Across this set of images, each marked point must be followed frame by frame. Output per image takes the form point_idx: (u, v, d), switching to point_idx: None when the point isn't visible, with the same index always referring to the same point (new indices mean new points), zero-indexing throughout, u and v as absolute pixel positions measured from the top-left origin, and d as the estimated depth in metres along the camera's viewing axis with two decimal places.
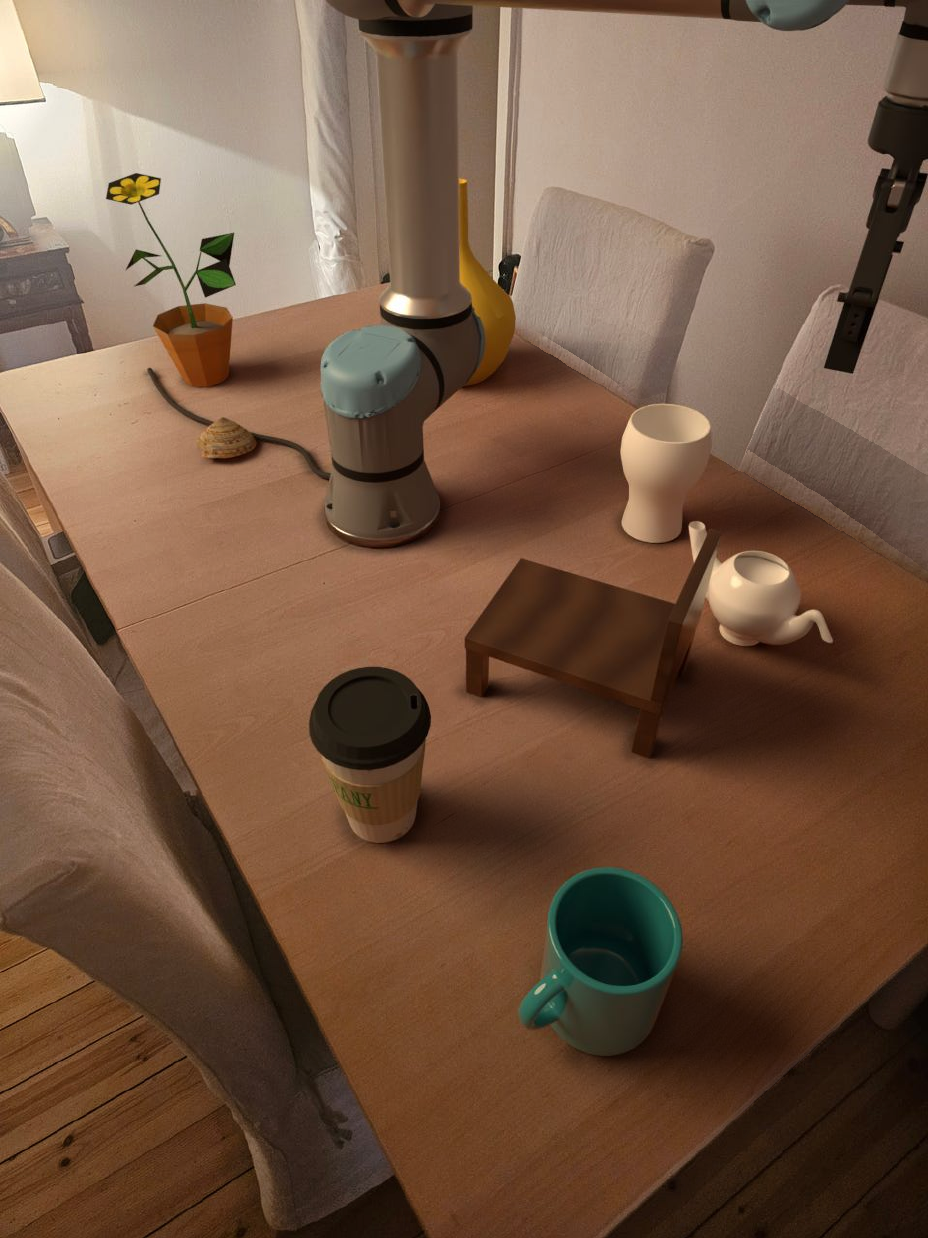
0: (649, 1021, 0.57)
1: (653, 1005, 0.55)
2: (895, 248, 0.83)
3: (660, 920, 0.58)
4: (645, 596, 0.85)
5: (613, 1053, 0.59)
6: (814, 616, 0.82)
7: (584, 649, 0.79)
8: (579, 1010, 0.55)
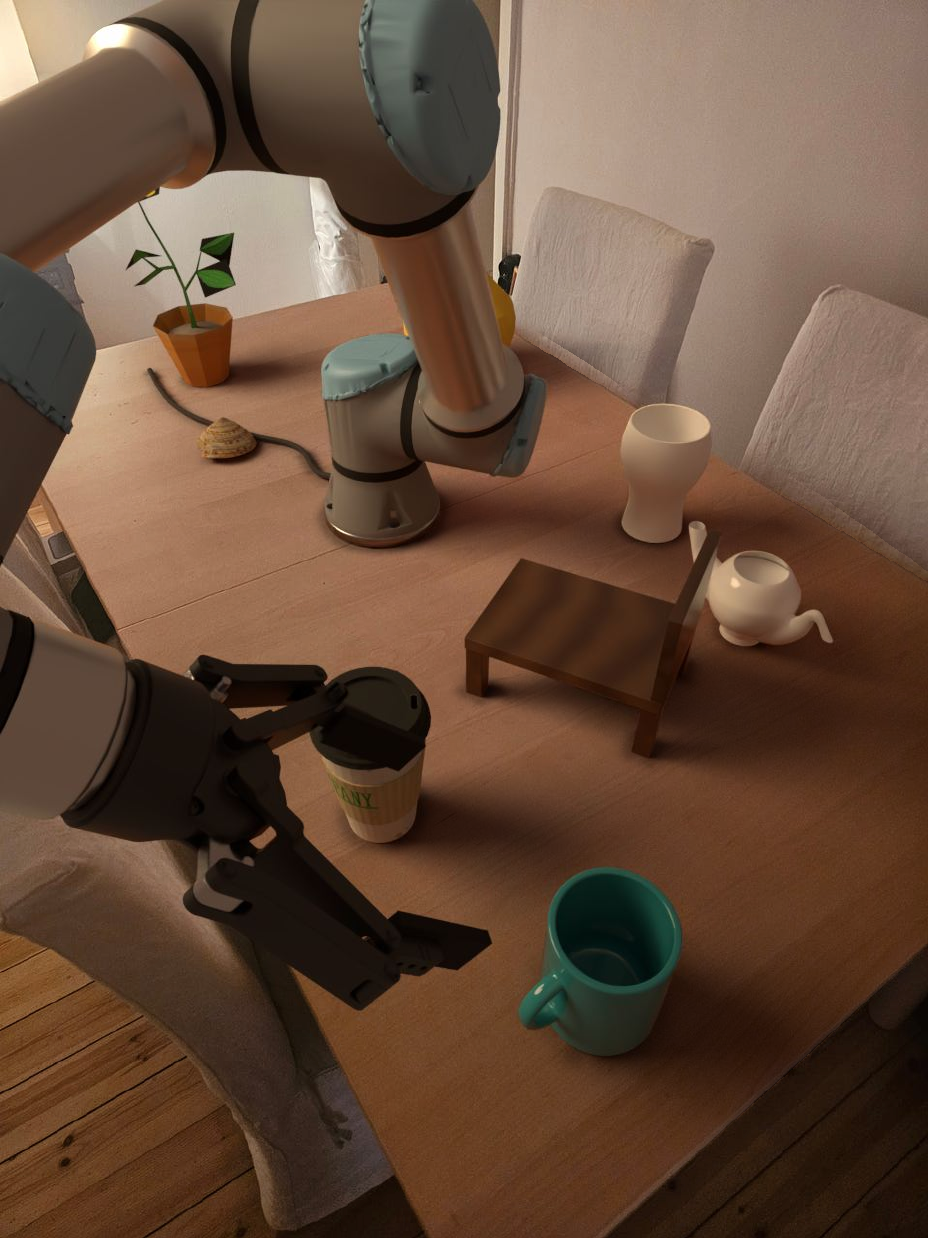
0: (649, 1021, 0.57)
1: (653, 1005, 0.55)
2: None
3: (660, 920, 0.58)
4: (645, 596, 0.85)
5: (613, 1053, 0.59)
6: (814, 616, 0.82)
7: (584, 649, 0.79)
8: (579, 1010, 0.55)
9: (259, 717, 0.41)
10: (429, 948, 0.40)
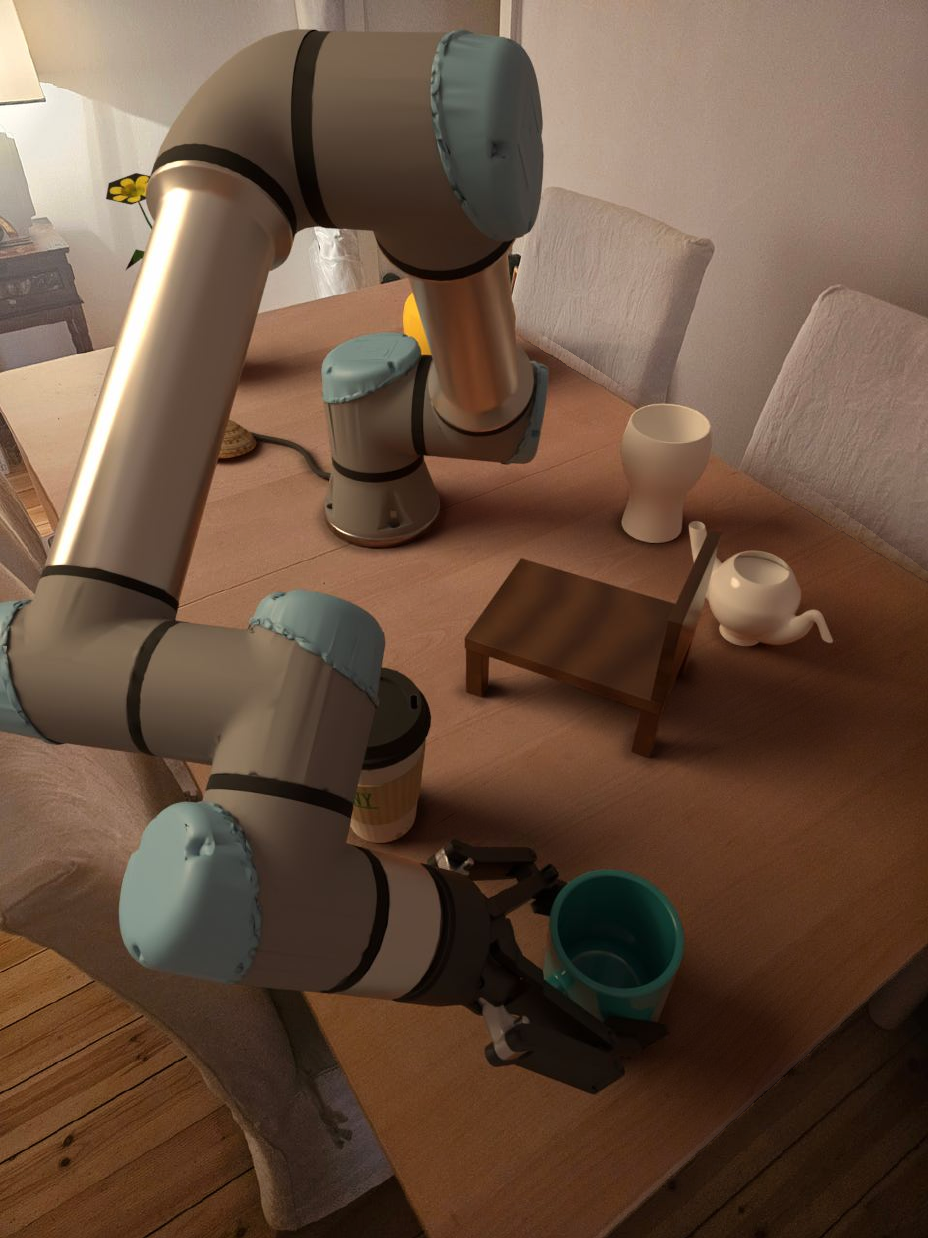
0: None
1: (654, 1008, 0.55)
2: None
3: (662, 923, 0.58)
4: (645, 596, 0.85)
5: None
6: (814, 616, 0.82)
7: (584, 649, 0.79)
8: None
9: (500, 895, 0.53)
10: (632, 1042, 0.54)
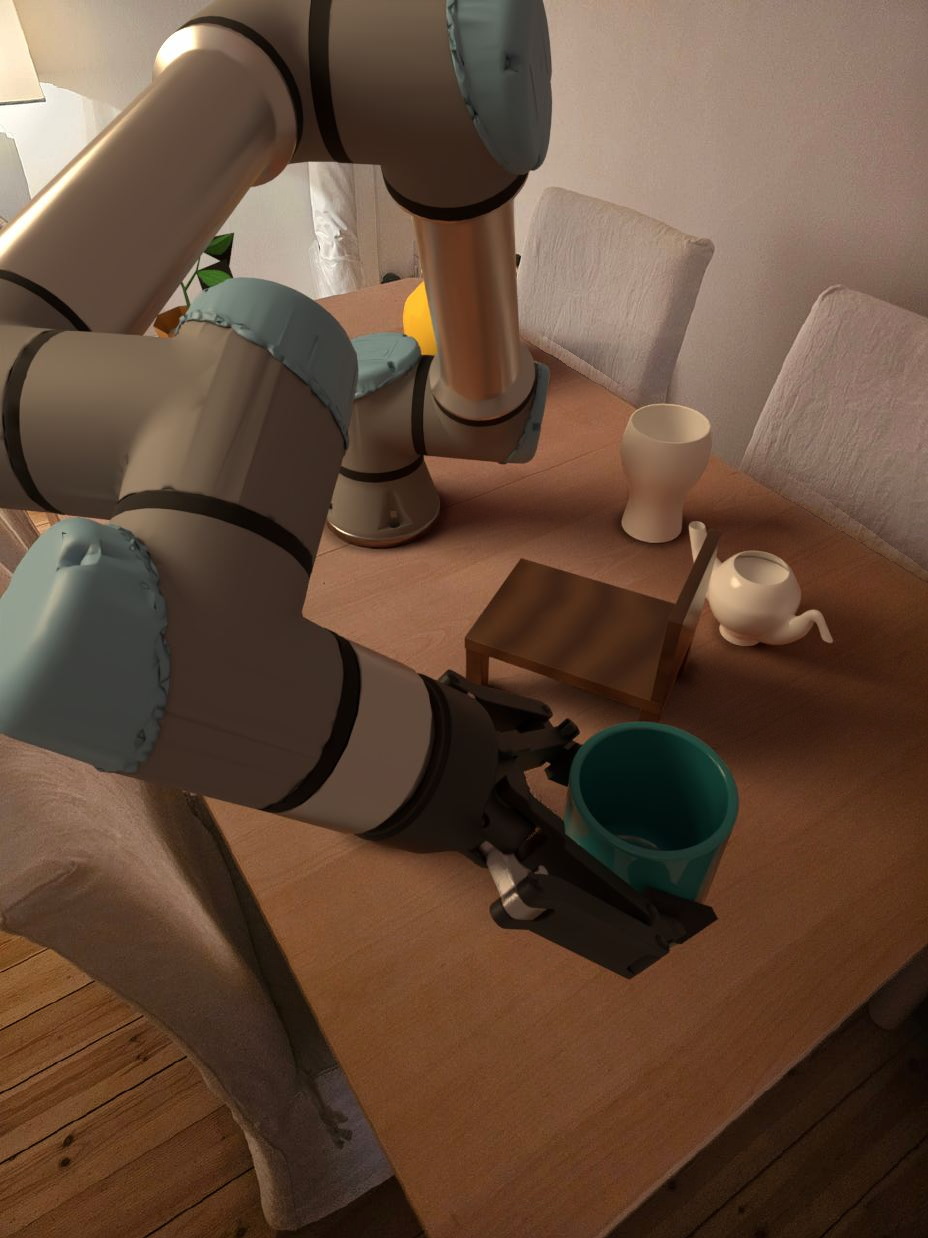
0: None
1: (701, 883, 0.44)
2: None
3: (708, 785, 0.47)
4: (645, 596, 0.85)
5: None
6: (814, 616, 0.82)
7: (584, 649, 0.79)
8: None
9: (508, 734, 0.42)
10: (674, 922, 0.43)
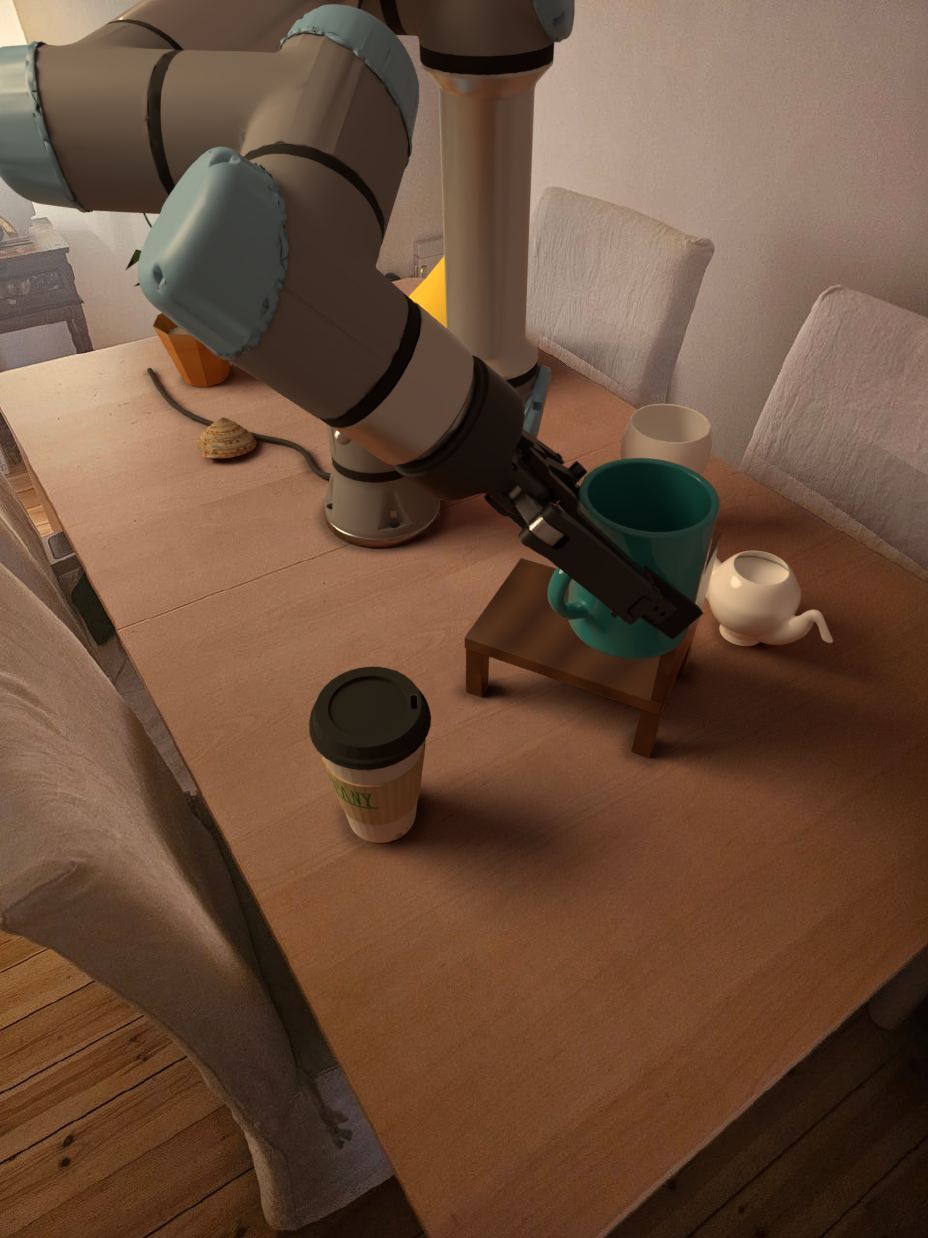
0: None
1: (689, 574, 0.53)
2: None
3: (695, 506, 0.55)
4: None
5: (645, 653, 0.57)
6: (814, 616, 0.82)
7: (584, 649, 0.79)
8: None
9: None
10: (666, 599, 0.52)
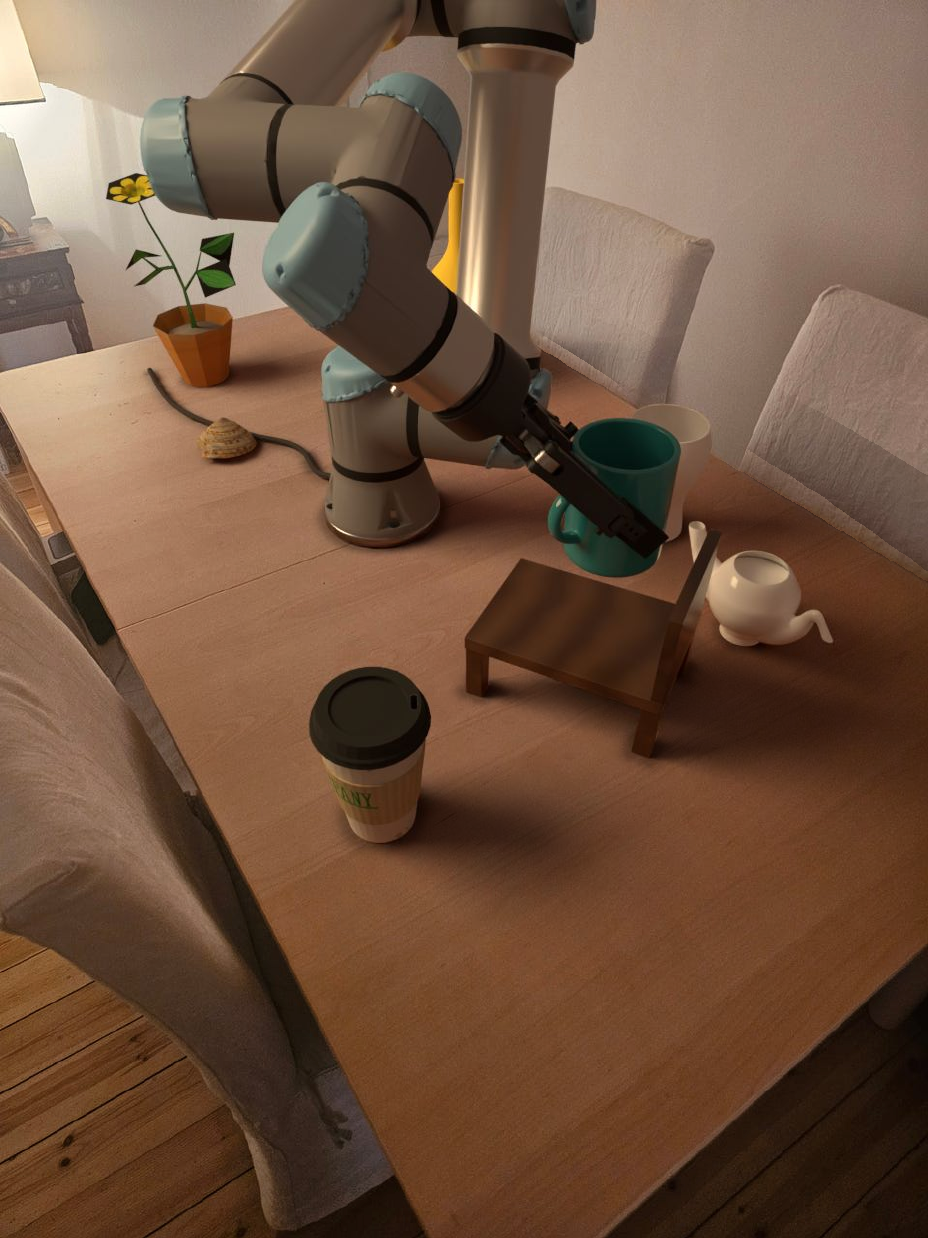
0: None
1: (657, 505, 0.68)
2: None
3: (663, 455, 0.71)
4: (645, 596, 0.85)
5: (624, 571, 0.72)
6: (814, 616, 0.82)
7: (584, 649, 0.79)
8: None
9: None
10: (639, 523, 0.67)
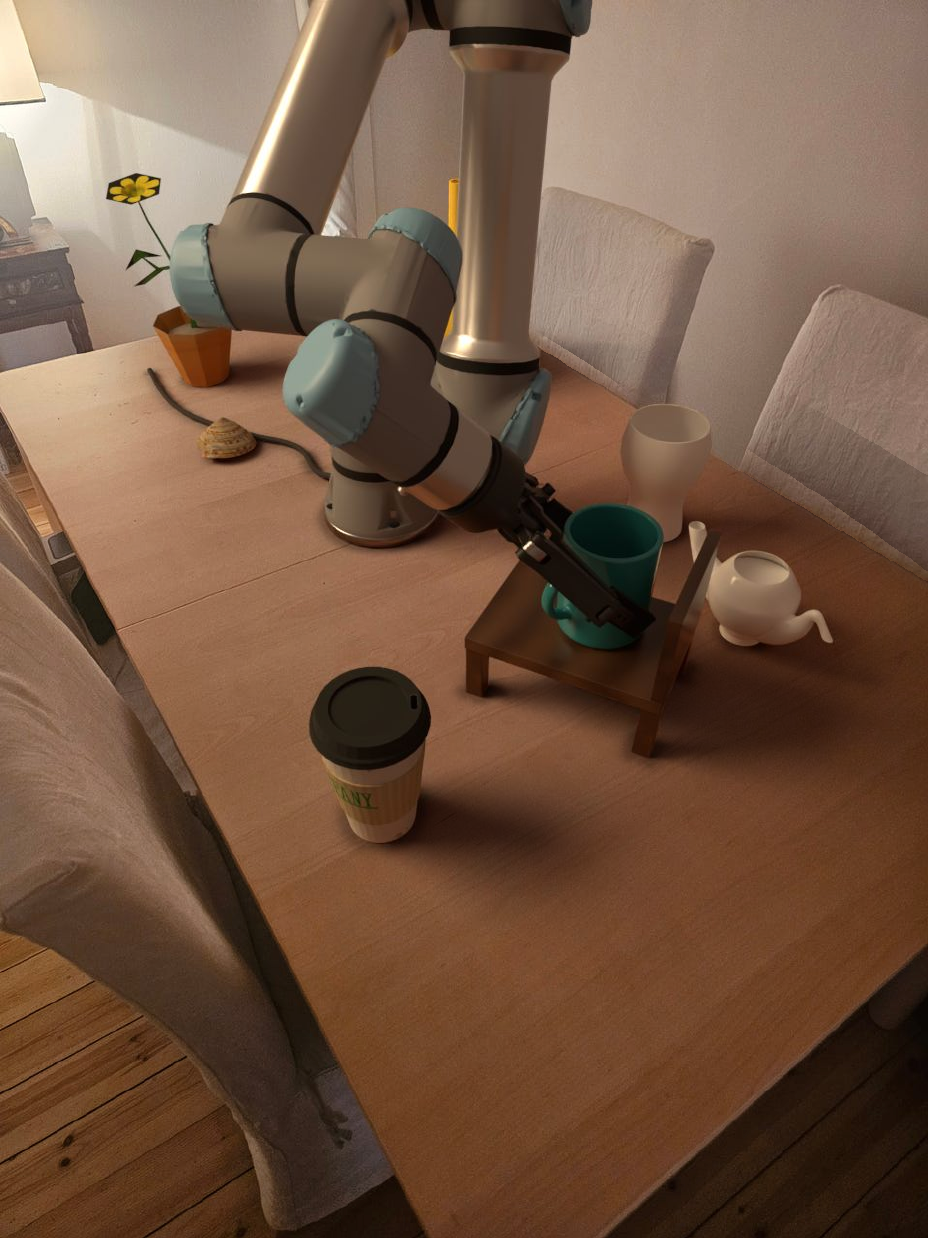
0: None
1: (642, 587, 0.74)
2: None
3: (648, 538, 0.77)
4: None
5: (612, 644, 0.78)
6: (814, 616, 0.82)
7: (584, 649, 0.79)
8: None
9: (525, 483, 0.72)
10: (627, 609, 0.71)
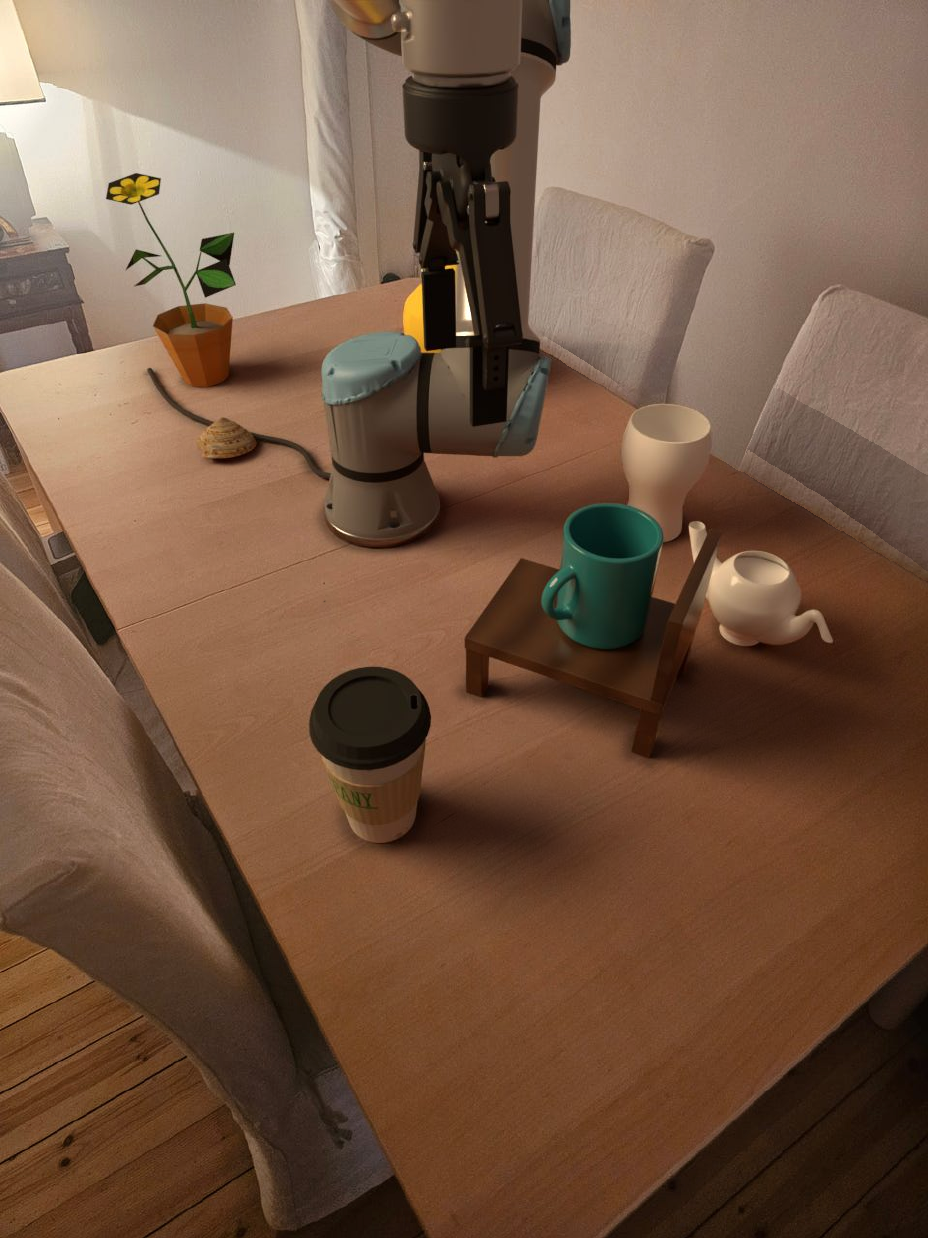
0: (639, 611, 0.76)
1: (641, 587, 0.74)
2: None
3: (647, 538, 0.77)
4: None
5: (612, 644, 0.78)
6: (814, 616, 0.82)
7: (584, 649, 0.79)
8: (586, 593, 0.75)
9: None
10: None
